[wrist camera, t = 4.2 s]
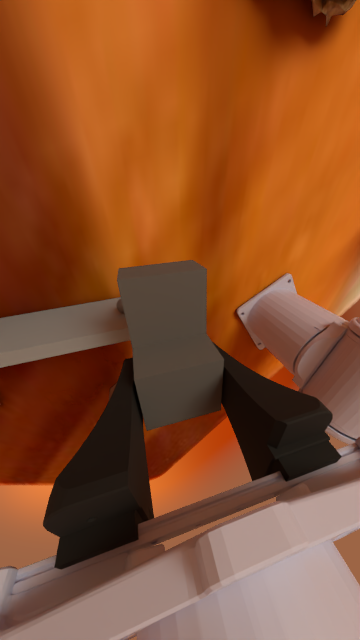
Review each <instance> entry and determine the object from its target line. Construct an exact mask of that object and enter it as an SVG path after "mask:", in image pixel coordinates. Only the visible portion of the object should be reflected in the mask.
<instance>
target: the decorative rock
mask: <svg viewBox="0 0 360 640" xmlns="http://www.w3.org/2000/svg"><path fill="white" fill-rule="evenodd" d="M355 1H356V0H312V8H313V17H314V16H315V15H317V14H319V13H320V12H322V13H323V14H325V15H326V26H327V24H328V22H329V20H330V18H331V16H332V15H344V14H345V13H346V12H347V11H348V10H349V9H350V8H351V7H352V6H353V4H354V3H355Z"/></svg>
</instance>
